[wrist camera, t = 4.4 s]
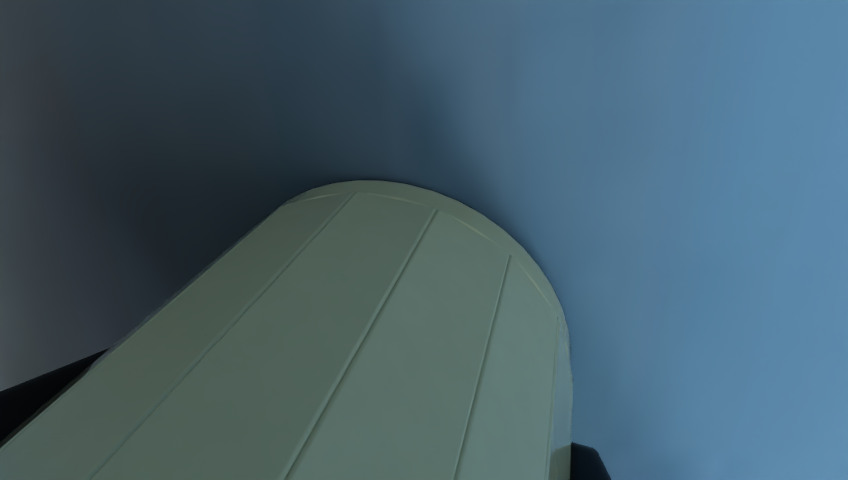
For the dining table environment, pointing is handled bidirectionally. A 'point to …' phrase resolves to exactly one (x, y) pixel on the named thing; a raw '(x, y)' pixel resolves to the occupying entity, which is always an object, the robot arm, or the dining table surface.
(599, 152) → the dining table surface
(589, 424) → the dining table surface
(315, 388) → the cup
